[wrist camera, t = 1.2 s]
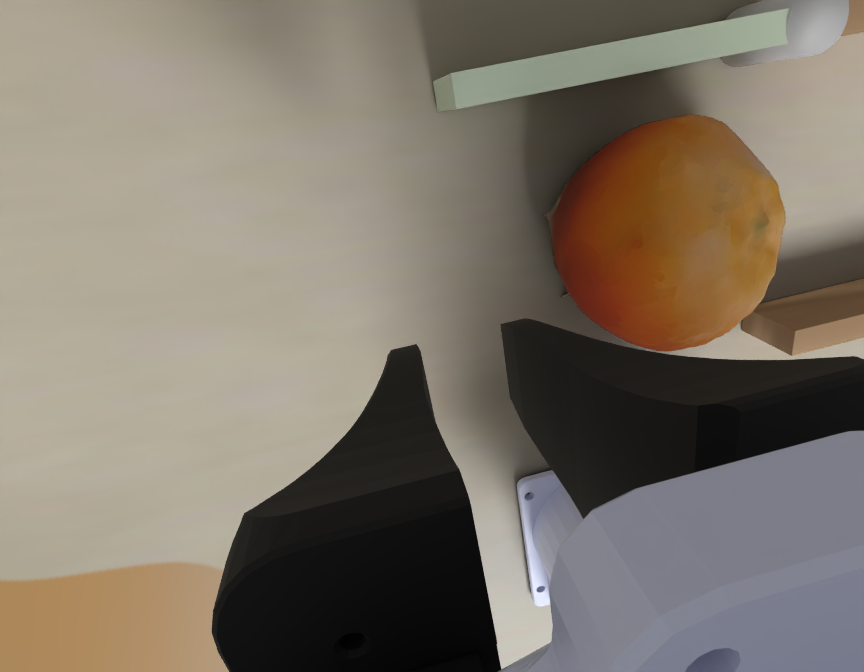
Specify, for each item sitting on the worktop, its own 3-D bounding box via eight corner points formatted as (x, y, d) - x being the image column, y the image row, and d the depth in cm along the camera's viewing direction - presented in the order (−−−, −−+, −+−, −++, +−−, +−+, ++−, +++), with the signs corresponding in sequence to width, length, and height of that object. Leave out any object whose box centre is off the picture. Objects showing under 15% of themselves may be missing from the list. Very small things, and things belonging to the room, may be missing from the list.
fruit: (463, 214, 18) (675, 174, 12) (576, 121, 22) (789, 50, 15) (545, 376, 22) (744, 411, 15) (632, 273, 25) (825, 267, 19)
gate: (768, 1, 18) (853, -23, 15) (763, 61, 19) (843, 49, 16) (430, 65, 17) (449, 52, 14) (440, 126, 18) (460, 126, 15)
